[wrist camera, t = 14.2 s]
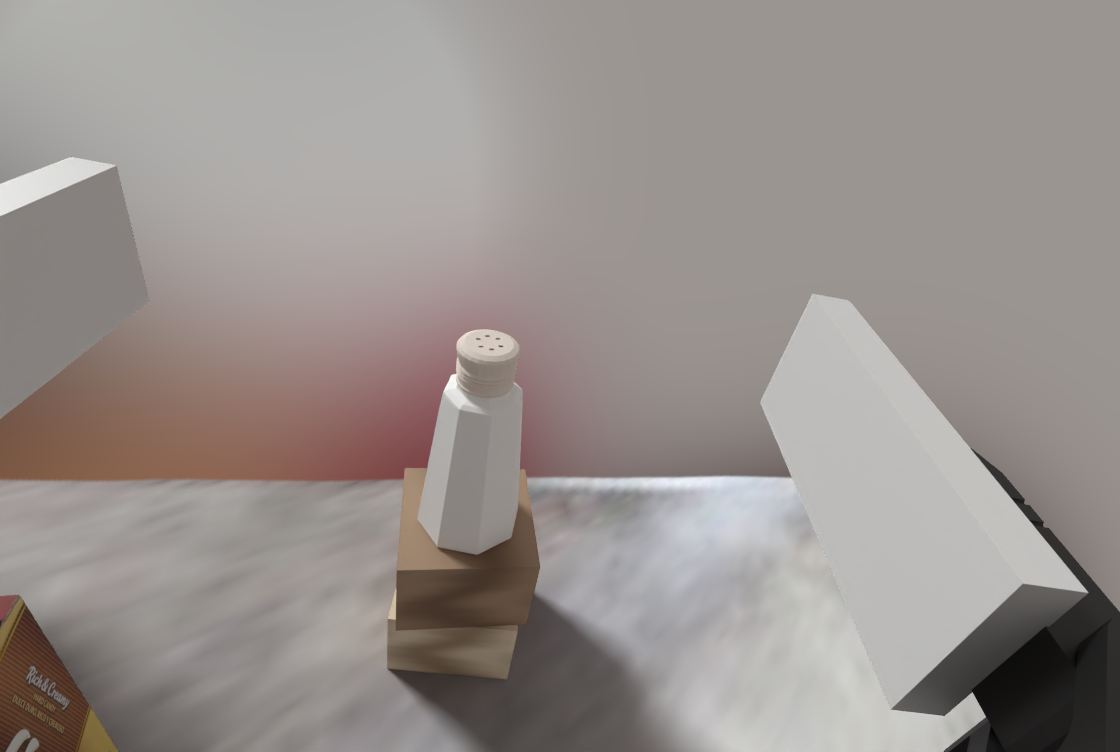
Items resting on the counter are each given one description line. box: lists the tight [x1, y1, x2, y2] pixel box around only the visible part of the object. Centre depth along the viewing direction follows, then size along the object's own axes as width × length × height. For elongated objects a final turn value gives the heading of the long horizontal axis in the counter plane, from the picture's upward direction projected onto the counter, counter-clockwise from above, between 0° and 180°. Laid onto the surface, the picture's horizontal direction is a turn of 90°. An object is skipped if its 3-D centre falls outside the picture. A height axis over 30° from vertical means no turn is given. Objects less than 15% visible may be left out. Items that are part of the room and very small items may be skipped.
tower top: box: [396, 468, 540, 631], centre depth 33 cm, size 7×7×5 cm
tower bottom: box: [387, 590, 518, 679], centre depth 36 cm, size 7×7×5 cm
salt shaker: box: [417, 330, 523, 555], centre depth 29 cm, size 5×5×11 cm
